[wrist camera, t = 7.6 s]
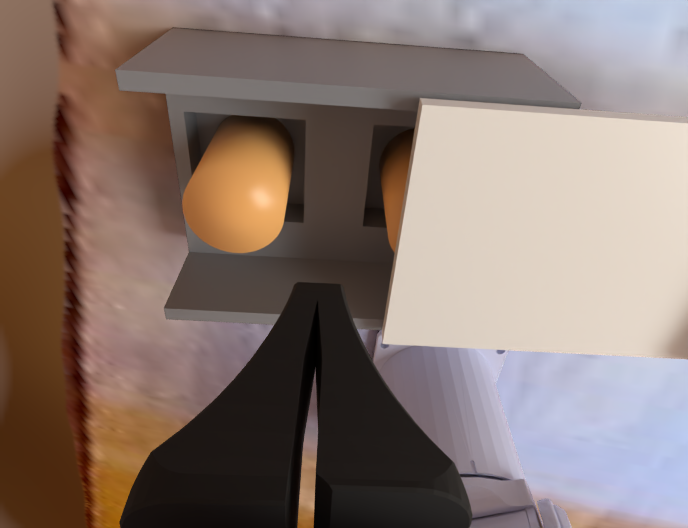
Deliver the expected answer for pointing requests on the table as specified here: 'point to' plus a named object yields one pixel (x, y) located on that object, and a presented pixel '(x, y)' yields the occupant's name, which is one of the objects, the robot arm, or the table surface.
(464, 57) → the housing
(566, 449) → the table surface
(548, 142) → the lid
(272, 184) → the jaw peg
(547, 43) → the table surface
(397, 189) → the jaw peg seated
